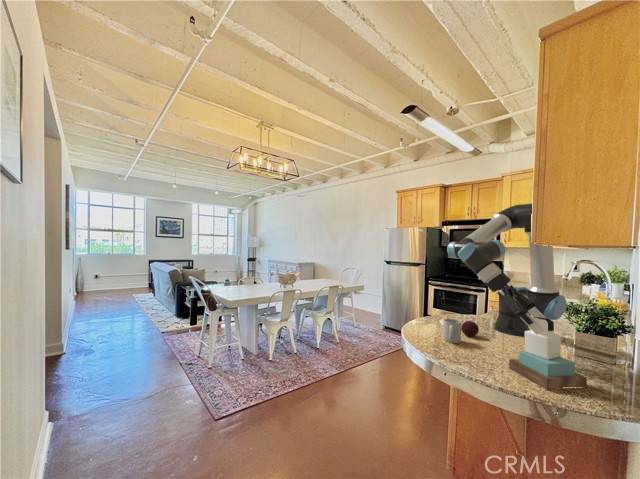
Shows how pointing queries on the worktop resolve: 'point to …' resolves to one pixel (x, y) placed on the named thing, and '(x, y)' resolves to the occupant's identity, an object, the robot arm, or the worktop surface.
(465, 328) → the dark red textured ball
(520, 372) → the tower base slab
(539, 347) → the medicine bottle
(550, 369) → the tower top block
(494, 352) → the worktop surface
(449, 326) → the cup
